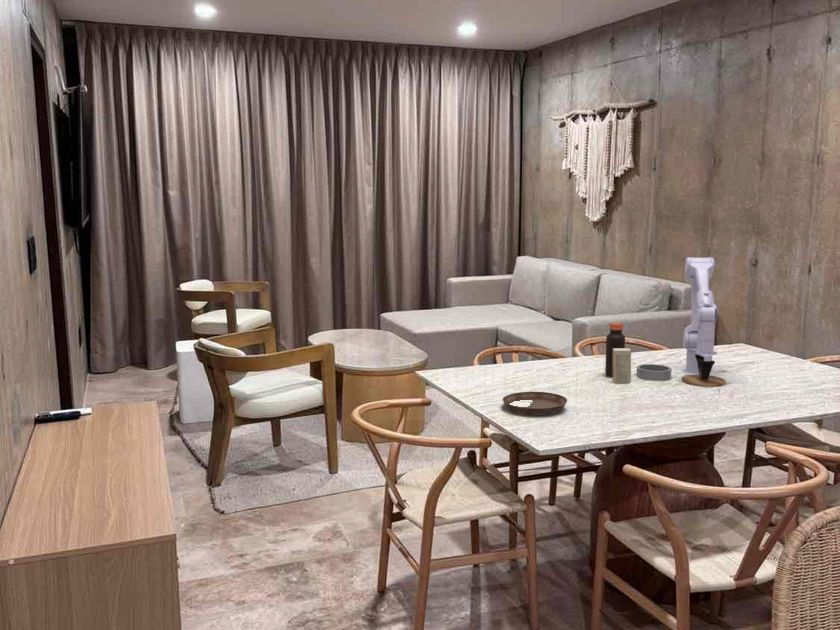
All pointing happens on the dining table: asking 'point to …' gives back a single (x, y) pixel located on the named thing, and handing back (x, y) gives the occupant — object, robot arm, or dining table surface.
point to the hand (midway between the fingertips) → (703, 376)
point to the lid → (703, 380)
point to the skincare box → (621, 365)
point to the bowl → (654, 372)
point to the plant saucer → (536, 402)
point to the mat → (703, 386)
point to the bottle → (613, 345)
